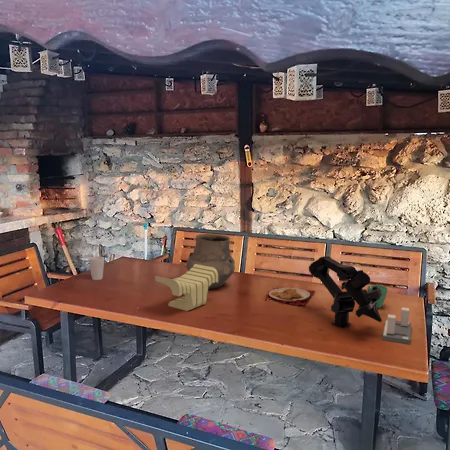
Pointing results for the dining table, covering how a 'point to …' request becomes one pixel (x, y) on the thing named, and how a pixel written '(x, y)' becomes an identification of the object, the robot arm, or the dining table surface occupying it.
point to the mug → (382, 298)
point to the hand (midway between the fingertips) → (381, 321)
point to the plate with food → (290, 295)
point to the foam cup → (96, 267)
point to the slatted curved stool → (191, 286)
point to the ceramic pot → (213, 256)
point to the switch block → (398, 333)
